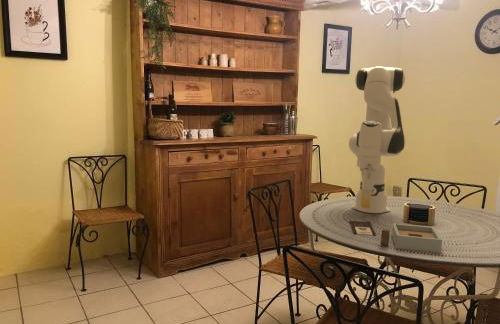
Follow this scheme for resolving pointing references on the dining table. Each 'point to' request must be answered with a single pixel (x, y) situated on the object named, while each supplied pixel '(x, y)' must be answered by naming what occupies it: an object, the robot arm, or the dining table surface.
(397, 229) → the square frame
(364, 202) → the dowel
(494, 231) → the dining table surface
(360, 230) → the chocolate bar
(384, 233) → the short dark dowel
